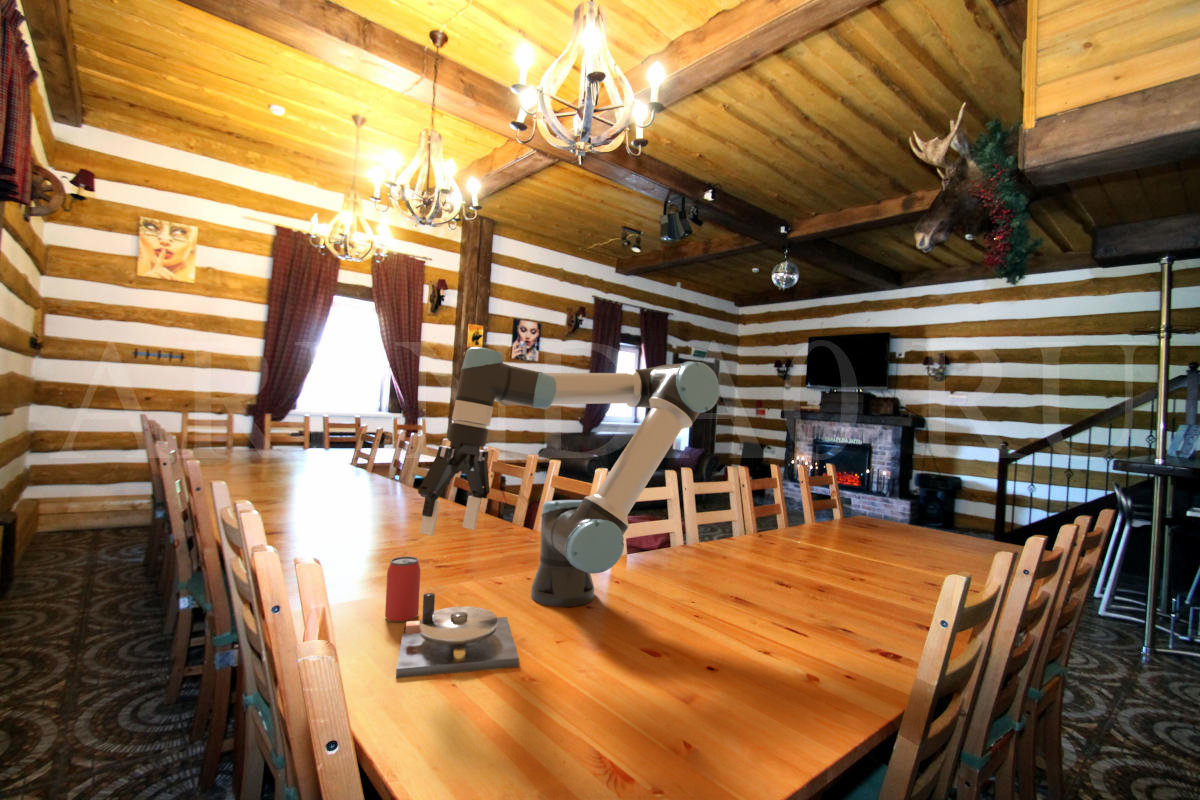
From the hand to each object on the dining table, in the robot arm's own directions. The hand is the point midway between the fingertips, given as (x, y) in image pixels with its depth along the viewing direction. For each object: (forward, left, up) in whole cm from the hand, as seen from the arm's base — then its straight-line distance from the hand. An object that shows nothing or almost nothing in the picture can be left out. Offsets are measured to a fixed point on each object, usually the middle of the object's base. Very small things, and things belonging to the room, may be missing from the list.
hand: (448, 531), depth 106 cm
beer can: (+9, -10, -20) cm, 24 cm away
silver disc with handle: (-1, +7, -17) cm, 18 cm away
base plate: (-3, +7, -20) cm, 21 cm away
